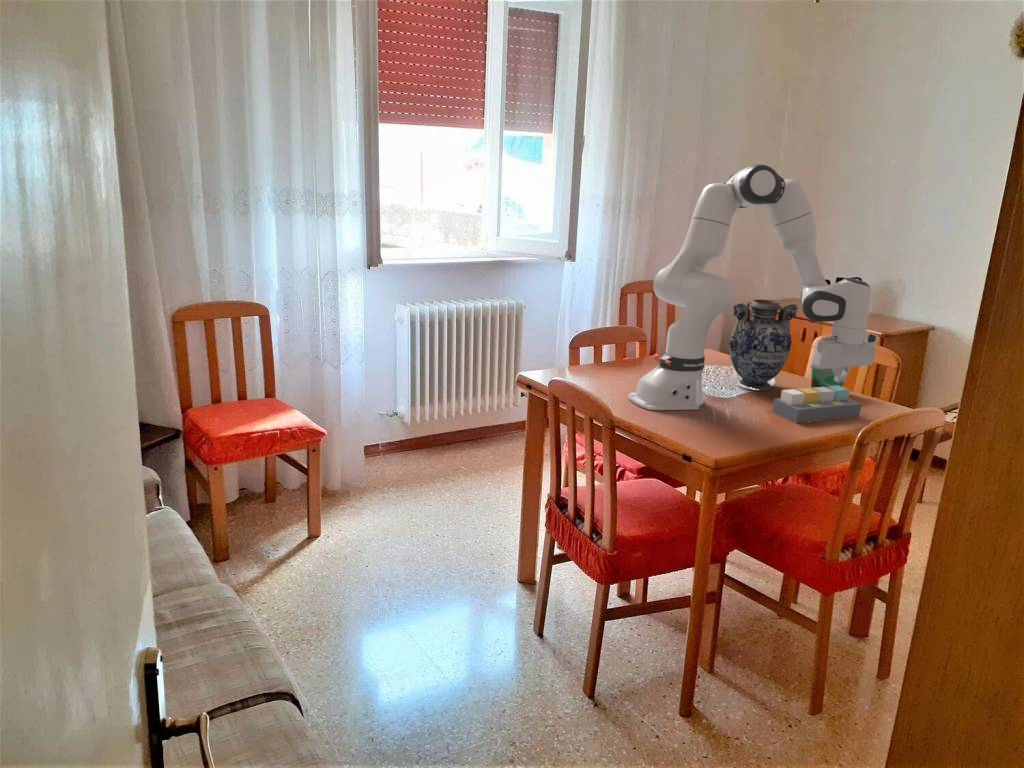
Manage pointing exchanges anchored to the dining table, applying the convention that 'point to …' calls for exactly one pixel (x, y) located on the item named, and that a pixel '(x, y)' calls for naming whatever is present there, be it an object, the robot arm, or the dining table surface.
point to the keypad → (817, 410)
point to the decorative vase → (760, 341)
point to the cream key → (792, 397)
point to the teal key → (840, 393)
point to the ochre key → (810, 395)
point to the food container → (823, 378)
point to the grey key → (825, 394)
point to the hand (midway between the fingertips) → (839, 381)
